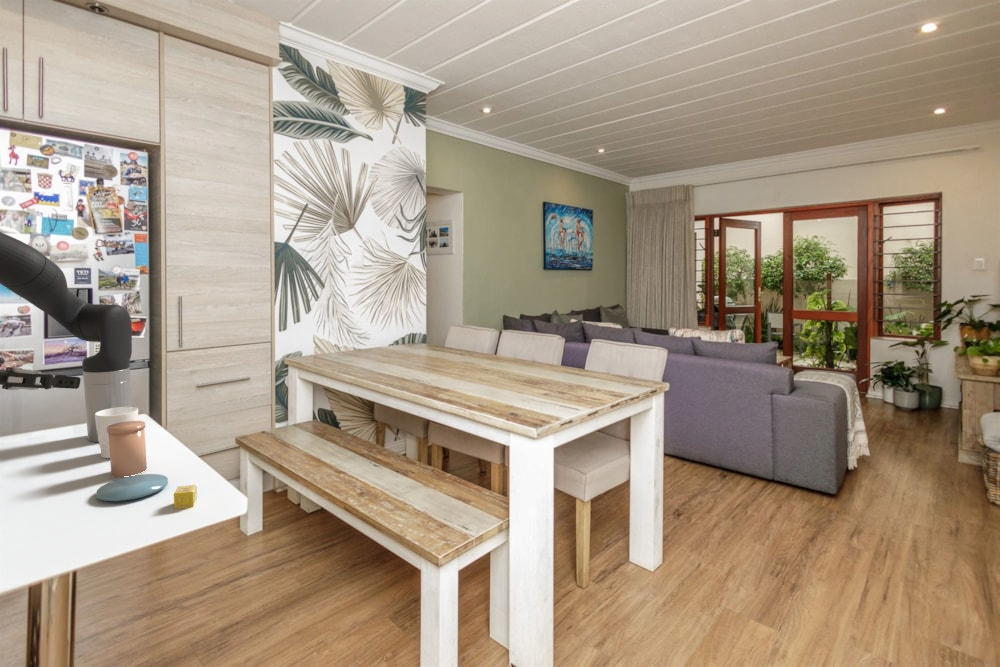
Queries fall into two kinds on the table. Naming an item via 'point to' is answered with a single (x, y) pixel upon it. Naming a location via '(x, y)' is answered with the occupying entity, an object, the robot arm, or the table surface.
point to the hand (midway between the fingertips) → (72, 381)
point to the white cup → (109, 418)
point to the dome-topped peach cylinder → (127, 448)
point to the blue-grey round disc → (132, 487)
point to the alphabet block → (185, 496)
